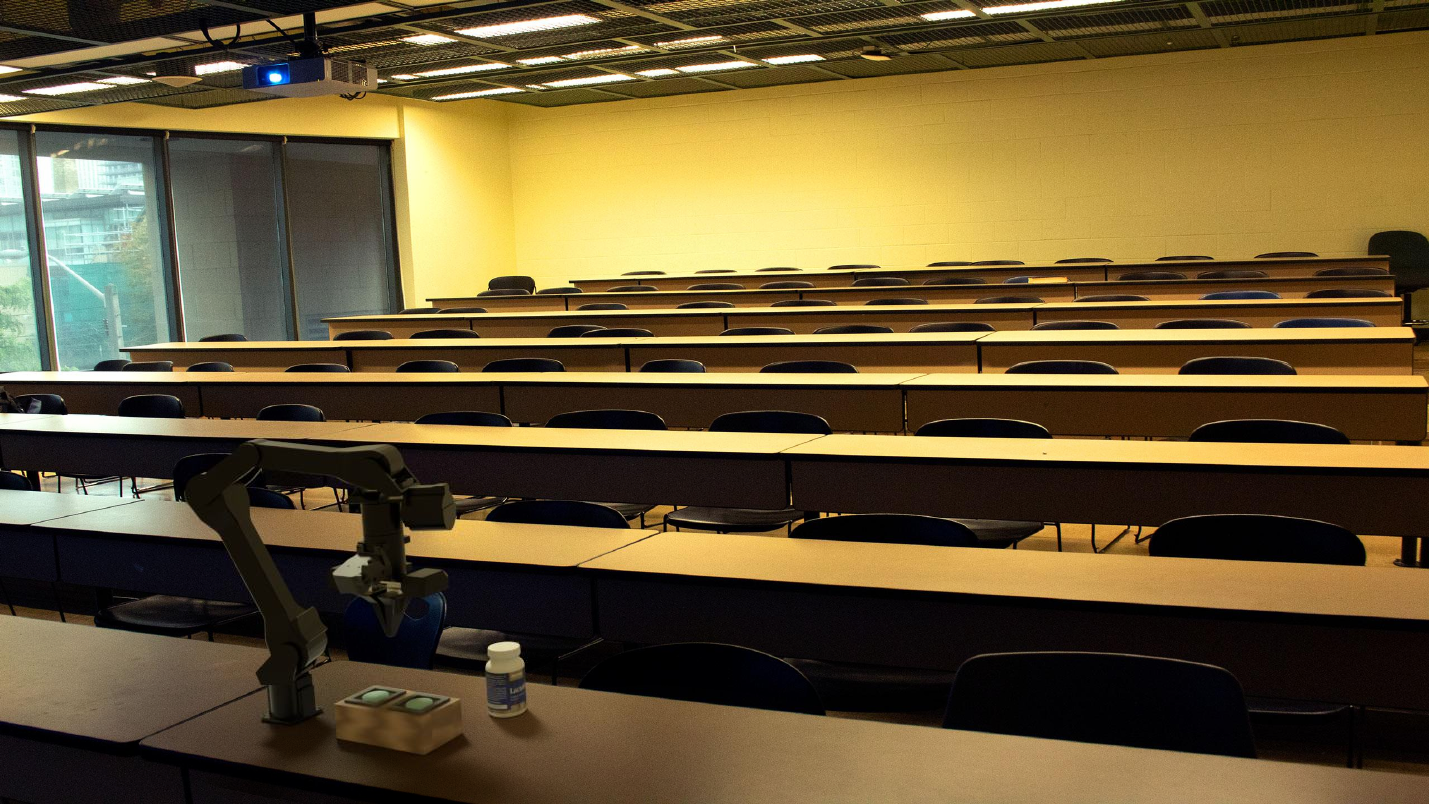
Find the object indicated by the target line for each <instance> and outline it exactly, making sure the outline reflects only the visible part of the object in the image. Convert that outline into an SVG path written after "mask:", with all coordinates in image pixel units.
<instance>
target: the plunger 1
mask: <svg viewBox="0 0 1429 804" xmlns="http://www.w3.org/2000/svg"><path fill="white" fill-rule="evenodd" d="M388 696H389V693H388V692H386V691H374V692H370V693H367V694H365V695H363V697H362V699H363V700H365V701H371V702H378V701H380V700H382V699H384V698H386V697H388Z"/></svg>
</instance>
